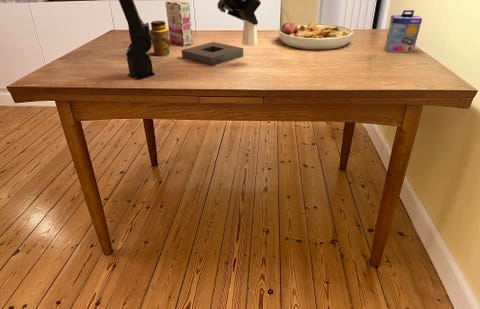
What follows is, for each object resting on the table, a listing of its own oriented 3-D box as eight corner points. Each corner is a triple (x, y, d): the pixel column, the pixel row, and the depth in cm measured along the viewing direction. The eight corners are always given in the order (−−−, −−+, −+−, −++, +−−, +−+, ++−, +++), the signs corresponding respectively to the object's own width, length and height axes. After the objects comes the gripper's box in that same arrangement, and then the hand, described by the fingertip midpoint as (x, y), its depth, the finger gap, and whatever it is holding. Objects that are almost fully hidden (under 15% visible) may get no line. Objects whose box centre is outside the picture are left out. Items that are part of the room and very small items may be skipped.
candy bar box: (193, 44, 142) (189, 2, 133) (183, 46, 139) (178, 3, 131) (179, 40, 149) (174, 0, 141) (169, 42, 146) (164, 1, 138)
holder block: (212, 66, 114) (211, 57, 113) (182, 58, 124) (181, 50, 122) (243, 56, 124) (243, 48, 123) (213, 49, 134) (213, 41, 132)
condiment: (174, 55, 128) (170, 22, 122) (153, 58, 124) (147, 24, 118) (166, 51, 134) (162, 19, 127) (146, 54, 130) (140, 21, 123)
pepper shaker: (261, 44, 112) (261, 9, 107) (247, 46, 110) (247, 10, 104) (252, 41, 116) (252, 7, 111) (238, 43, 114) (238, 8, 108)
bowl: (344, 34, 152) (347, 16, 148) (357, 52, 127) (361, 30, 123) (278, 34, 155) (279, 16, 151) (278, 52, 130) (279, 30, 126)
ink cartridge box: (386, 52, 125) (394, 10, 118) (383, 48, 130) (391, 8, 122) (414, 53, 124) (424, 10, 116) (411, 49, 128) (420, 8, 121)
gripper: (255, -34, 92) (285, 6, 103) (224, -36, 106) (253, -1, 117) (231, -1, 93) (263, 35, 104) (203, -7, 107) (234, 25, 118)
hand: (253, 22), depth 110 cm, fingers closed on pepper shaker, 4 cm apart
